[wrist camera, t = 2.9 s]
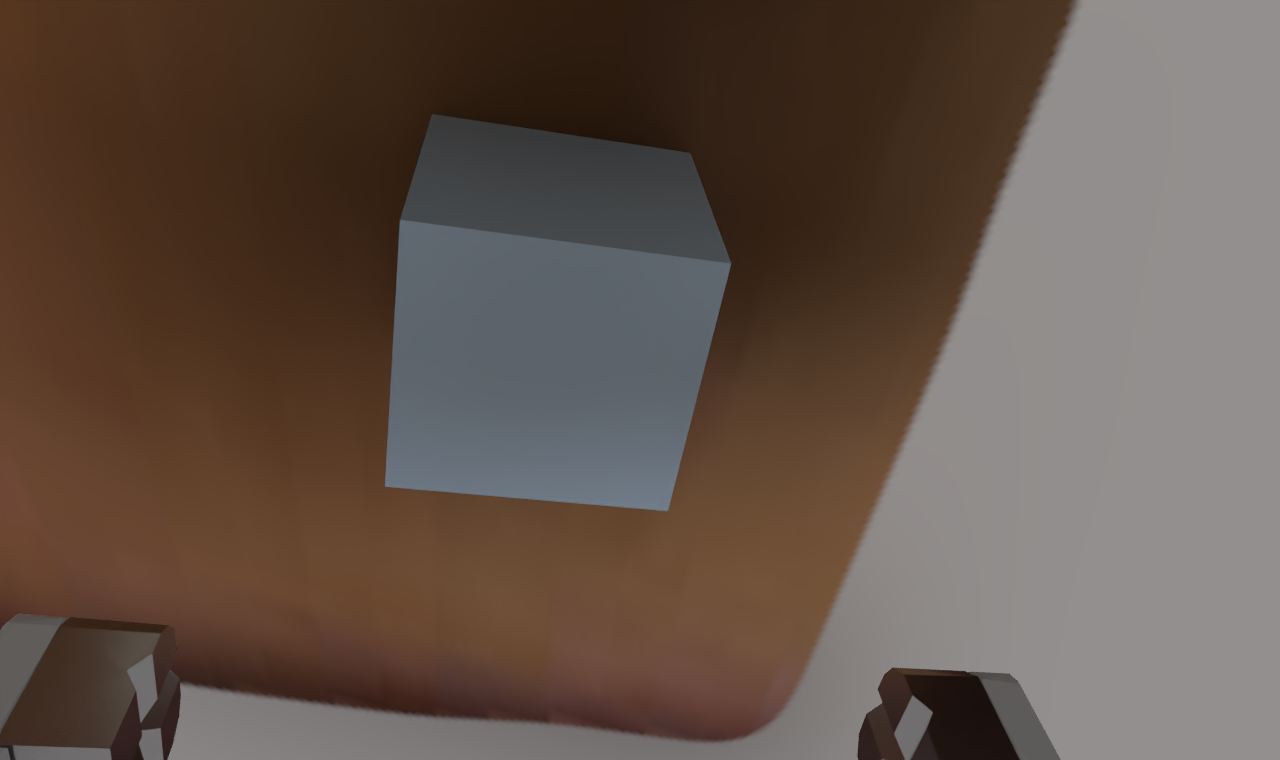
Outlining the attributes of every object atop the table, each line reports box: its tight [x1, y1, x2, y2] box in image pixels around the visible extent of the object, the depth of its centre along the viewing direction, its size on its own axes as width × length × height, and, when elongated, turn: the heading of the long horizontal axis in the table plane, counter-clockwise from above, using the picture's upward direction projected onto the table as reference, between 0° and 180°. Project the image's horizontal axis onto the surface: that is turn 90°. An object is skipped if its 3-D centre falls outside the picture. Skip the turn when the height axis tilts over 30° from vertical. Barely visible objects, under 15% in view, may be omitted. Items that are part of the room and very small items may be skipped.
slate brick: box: [385, 114, 731, 511], centre depth 18 cm, size 5×5×5 cm
